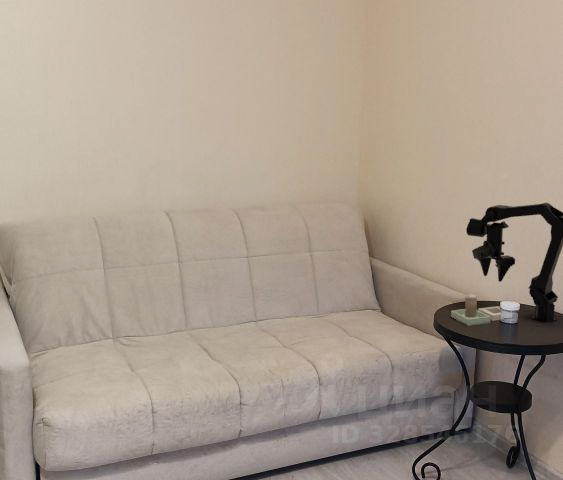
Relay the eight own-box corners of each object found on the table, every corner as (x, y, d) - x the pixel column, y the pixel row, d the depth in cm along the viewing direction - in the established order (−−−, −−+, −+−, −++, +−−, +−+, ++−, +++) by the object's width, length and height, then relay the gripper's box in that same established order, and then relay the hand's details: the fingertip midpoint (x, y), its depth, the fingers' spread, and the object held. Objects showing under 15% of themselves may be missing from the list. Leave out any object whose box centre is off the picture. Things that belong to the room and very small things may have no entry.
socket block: (513, 317, 253) (513, 312, 252) (492, 320, 250) (492, 315, 250) (498, 311, 261) (498, 306, 261) (477, 313, 258) (478, 308, 258)
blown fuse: (478, 319, 250) (479, 295, 248) (468, 320, 248) (469, 297, 247) (471, 316, 253) (472, 292, 252) (462, 317, 252) (463, 294, 250)
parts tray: (490, 323, 247) (490, 316, 247) (468, 326, 244) (468, 319, 244) (472, 314, 258) (472, 308, 257) (451, 317, 255) (451, 310, 254)
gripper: (462, 236, 265) (460, 275, 268) (491, 245, 248) (489, 286, 251) (486, 233, 268) (484, 272, 271) (517, 242, 251) (514, 283, 254)
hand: (492, 278), depth 262 cm, fingers open, 9 cm apart
